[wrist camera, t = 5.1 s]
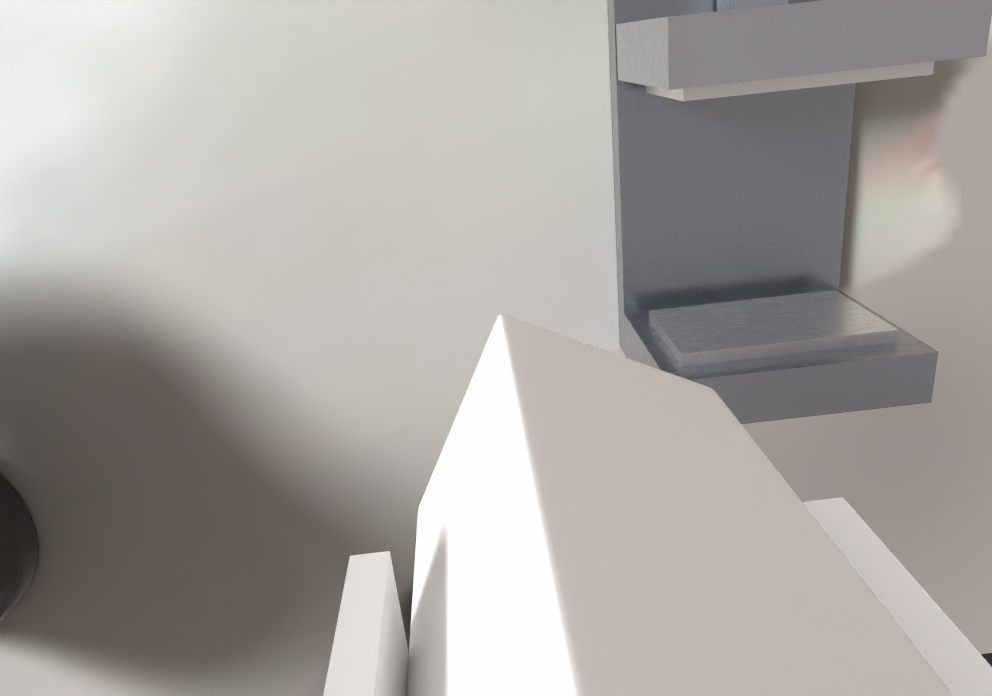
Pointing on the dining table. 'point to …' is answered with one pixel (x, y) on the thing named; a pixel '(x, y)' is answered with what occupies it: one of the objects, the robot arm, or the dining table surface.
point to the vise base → (747, 247)
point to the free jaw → (797, 45)
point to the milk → (629, 547)
